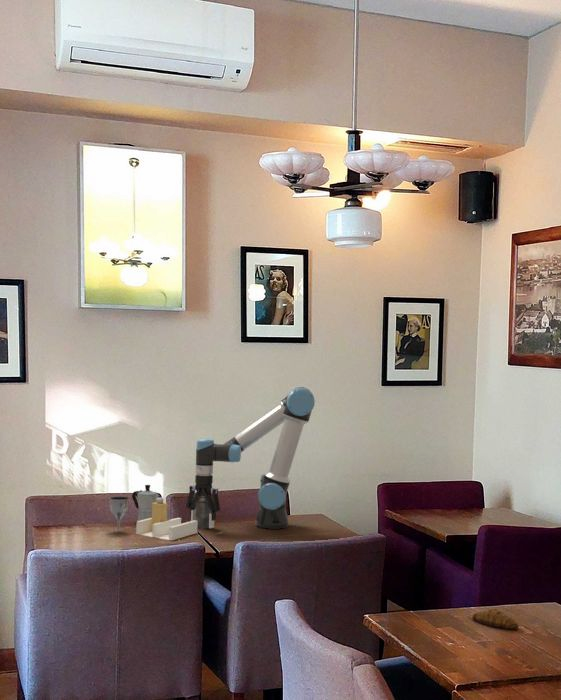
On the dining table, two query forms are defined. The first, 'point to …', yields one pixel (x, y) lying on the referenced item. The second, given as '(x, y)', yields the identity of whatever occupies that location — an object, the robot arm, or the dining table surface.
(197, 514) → the dark grey bottle
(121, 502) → the wine glass
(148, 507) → the coffee maker
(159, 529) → the comb rack
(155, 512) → the ochre peg
